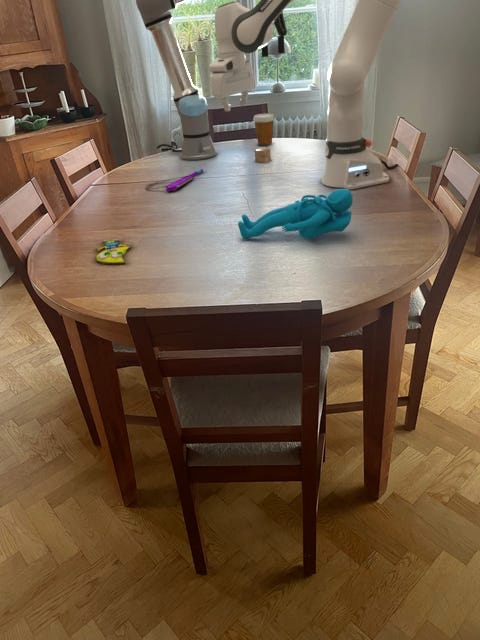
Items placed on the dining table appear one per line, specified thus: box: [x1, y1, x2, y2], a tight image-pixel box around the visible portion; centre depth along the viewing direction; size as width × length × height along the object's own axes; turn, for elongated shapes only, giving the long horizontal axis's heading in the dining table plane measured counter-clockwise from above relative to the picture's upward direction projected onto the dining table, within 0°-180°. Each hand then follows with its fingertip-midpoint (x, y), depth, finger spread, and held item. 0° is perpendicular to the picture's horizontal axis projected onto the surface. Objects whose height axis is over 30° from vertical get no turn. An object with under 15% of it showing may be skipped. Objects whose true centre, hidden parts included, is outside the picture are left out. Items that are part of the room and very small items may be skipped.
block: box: [254, 147, 272, 164], centre depth 194 cm, size 4×5×4 cm
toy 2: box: [237, 188, 354, 240], centre depth 126 cm, size 17×11×30 cm
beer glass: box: [252, 113, 275, 146], centre depth 215 cm, size 10×10×12 cm
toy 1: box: [95, 238, 133, 265], centre depth 129 cm, size 10×1×15 cm
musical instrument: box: [145, 168, 205, 192], centre depth 179 cm, size 24×2×20 cm
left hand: (273, 55), depth 206 cm, fingers open, 13 cm apart
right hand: (236, 108), depth 163 cm, fingers open, 8 cm apart
